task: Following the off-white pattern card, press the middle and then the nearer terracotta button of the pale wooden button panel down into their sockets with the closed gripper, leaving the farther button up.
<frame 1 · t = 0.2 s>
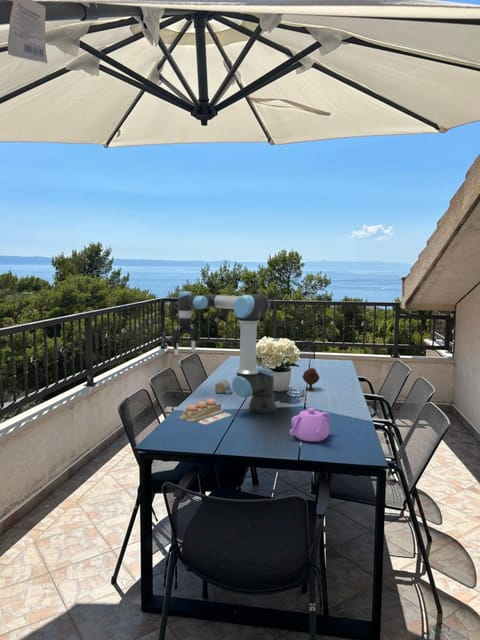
hand: (184, 352, 275), 28 cm above the table, tool pointing down, fingers open, 13 cm apart
button panel: (201, 415, 246), on the table
brown tree model: (310, 390, 300), on the table
button middle: (201, 405, 246), point 5 cm above the table, slide at 0.0 cm
button 1: (192, 408, 240), point 5 cm above the table, slide at 0.0 cm
button 2: (210, 402, 251), point 5 cm above the table, slide at 0.0 cm
ceramic mug: (224, 392, 292), on the table
pattern card: (215, 419, 240), on the table
teapot: (313, 439, 213), on the table
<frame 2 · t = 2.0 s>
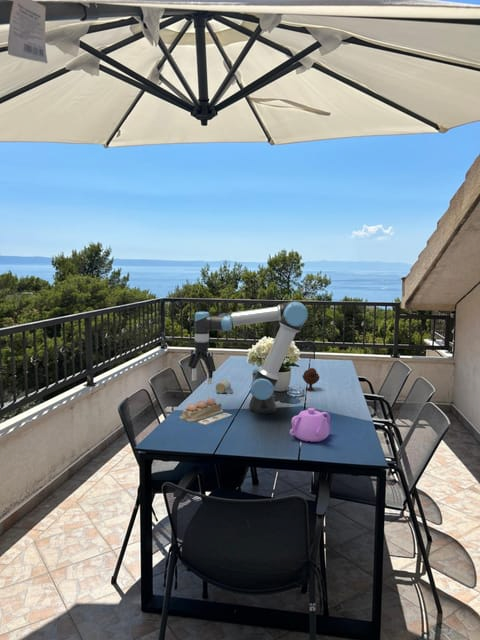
hand: (201, 382, 244), 18 cm above the table, tool pointing down, fingers open, 11 cm apart
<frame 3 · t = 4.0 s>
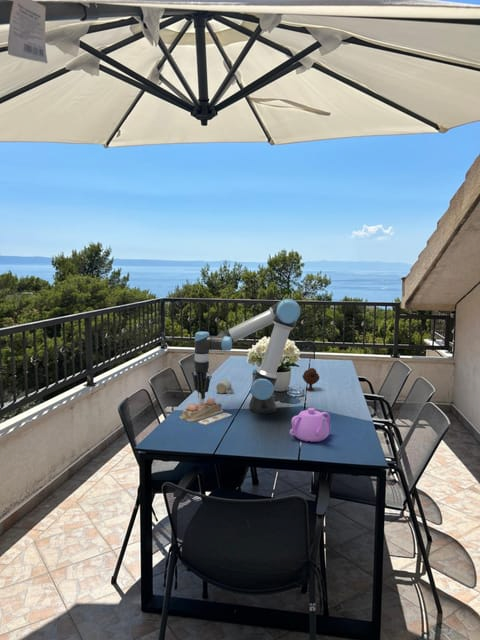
hand: (201, 404, 246), 6 cm above the table, tool pointing down, fingers closed
button middle: (201, 408, 246), point 4 cm above the table, slide at 1.4 cm, touching gripper
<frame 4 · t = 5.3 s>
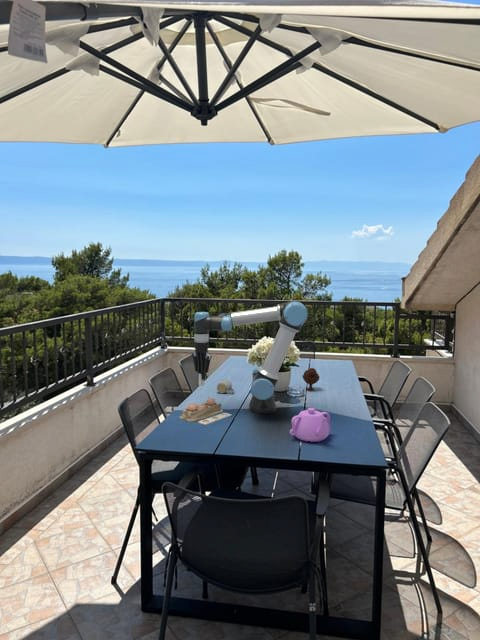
hand: (201, 385, 244), 16 cm above the table, tool pointing down, fingers closed
button middle: (201, 408, 246), point 3 cm above the table, slide at 1.8 cm
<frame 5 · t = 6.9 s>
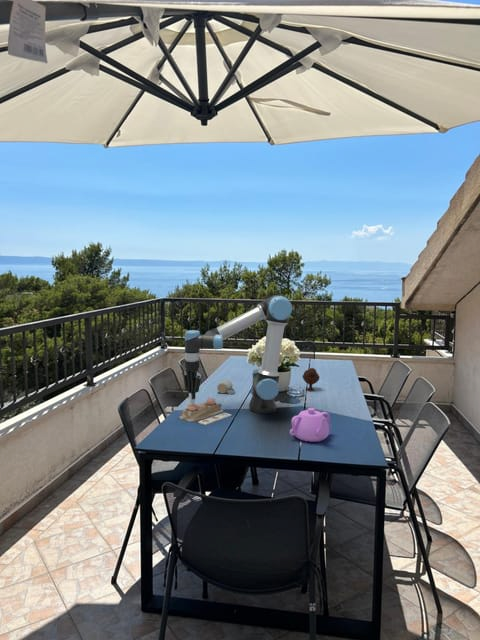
hand: (191, 404, 240), 7 cm above the table, tool pointing down, fingers closed
button 1: (192, 408, 240), point 5 cm above the table, slide at 0.1 cm, touching gripper
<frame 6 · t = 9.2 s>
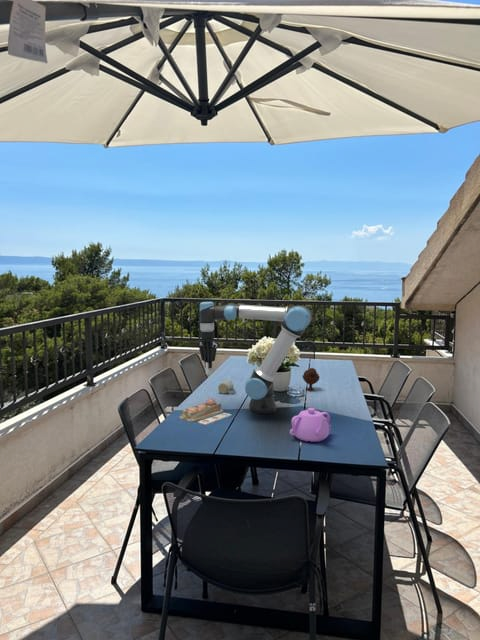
hand: (208, 373, 249), 21 cm above the table, tool pointing down, fingers closed
button 1: (192, 411, 241), point 3 cm above the table, slide at 1.8 cm
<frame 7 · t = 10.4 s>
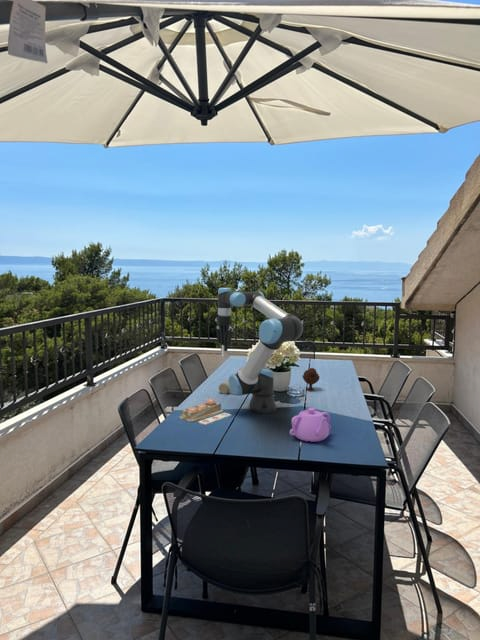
hand: (224, 356, 262), 28 cm above the table, tool pointing down, fingers closed
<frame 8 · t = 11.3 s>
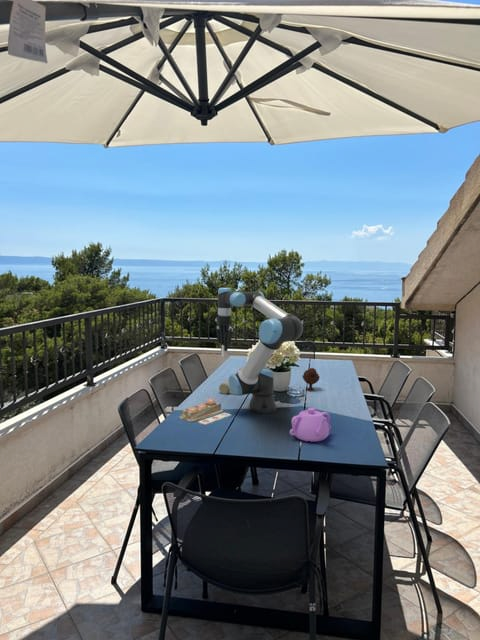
hand: (224, 356, 262), 28 cm above the table, tool pointing down, fingers closed
at the end: button middle slide at 1.8 cm; button 1 slide at 1.8 cm; button 2 slide at 0.0 cm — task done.
